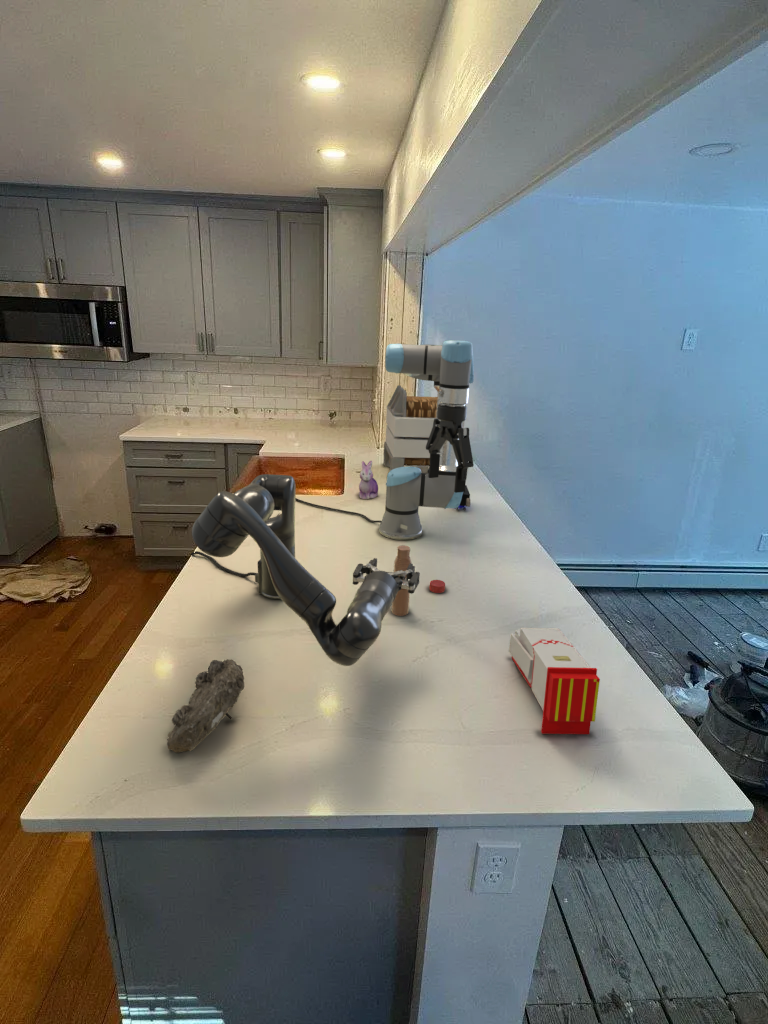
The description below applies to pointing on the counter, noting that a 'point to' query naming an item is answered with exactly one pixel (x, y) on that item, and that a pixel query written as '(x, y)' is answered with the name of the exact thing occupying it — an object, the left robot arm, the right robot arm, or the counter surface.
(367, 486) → the figurine
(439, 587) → the cap
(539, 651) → the toy
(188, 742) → the fossil
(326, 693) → the counter surface
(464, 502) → the figurine character
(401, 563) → the bottle
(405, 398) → the grey tiered storage bin
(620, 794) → the counter surface
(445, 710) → the counter surface
